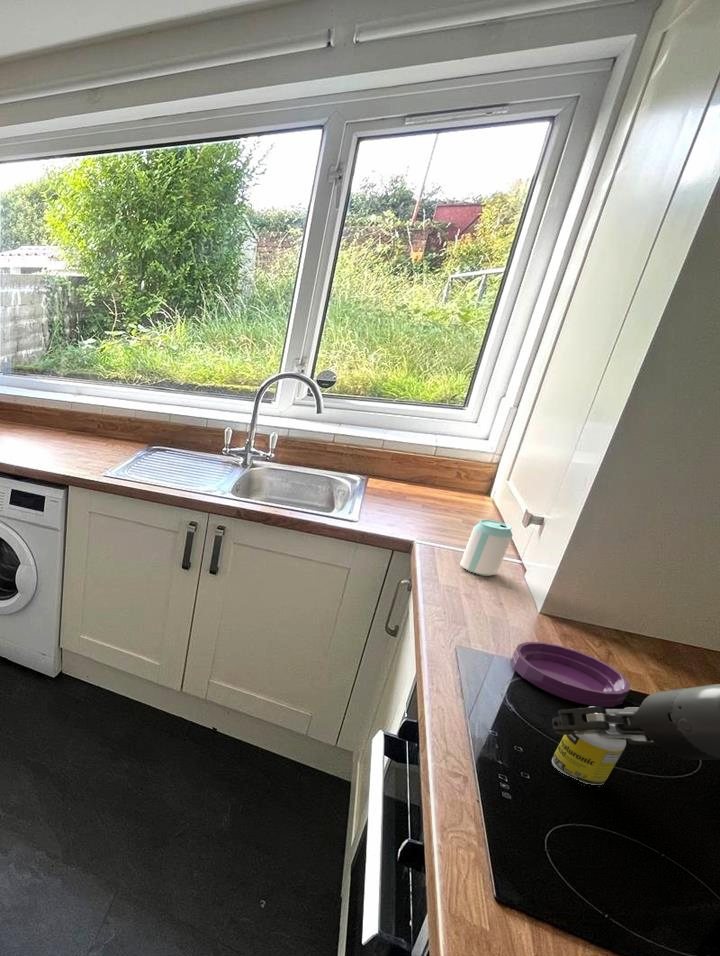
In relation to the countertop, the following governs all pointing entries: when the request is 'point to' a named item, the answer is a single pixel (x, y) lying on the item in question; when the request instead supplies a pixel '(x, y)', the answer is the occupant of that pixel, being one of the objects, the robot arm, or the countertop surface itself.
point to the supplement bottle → (588, 756)
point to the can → (486, 547)
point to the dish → (570, 674)
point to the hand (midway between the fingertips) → (592, 731)
